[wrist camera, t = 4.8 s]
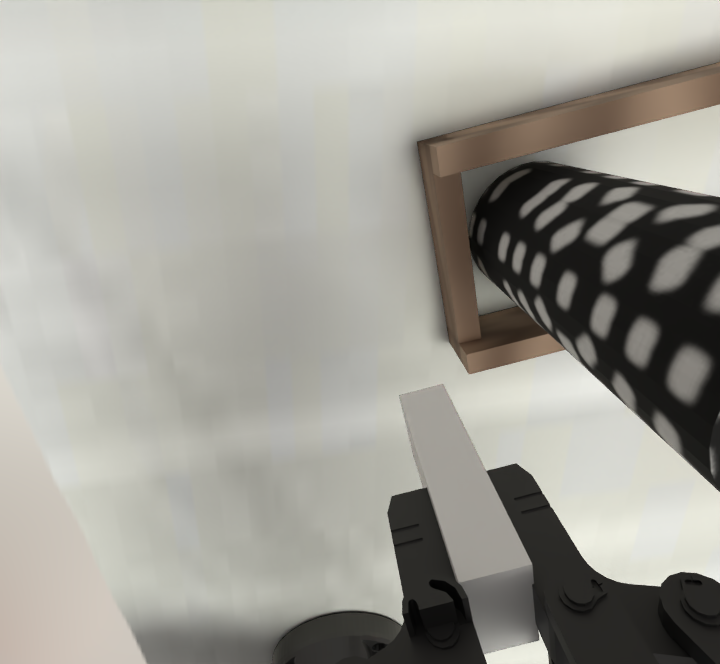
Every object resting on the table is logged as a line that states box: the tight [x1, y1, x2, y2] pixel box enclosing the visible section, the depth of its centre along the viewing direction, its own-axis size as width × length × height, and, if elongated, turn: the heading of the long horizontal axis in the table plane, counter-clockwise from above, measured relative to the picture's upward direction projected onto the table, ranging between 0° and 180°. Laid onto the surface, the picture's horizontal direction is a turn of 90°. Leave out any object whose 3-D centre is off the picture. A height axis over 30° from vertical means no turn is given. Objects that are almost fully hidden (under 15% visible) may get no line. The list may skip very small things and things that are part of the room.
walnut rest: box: [417, 62, 720, 374], centre depth 28 cm, size 31×14×4 cm, turn 103°
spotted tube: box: [469, 162, 720, 492], centre depth 21 cm, size 8×8×20 cm
